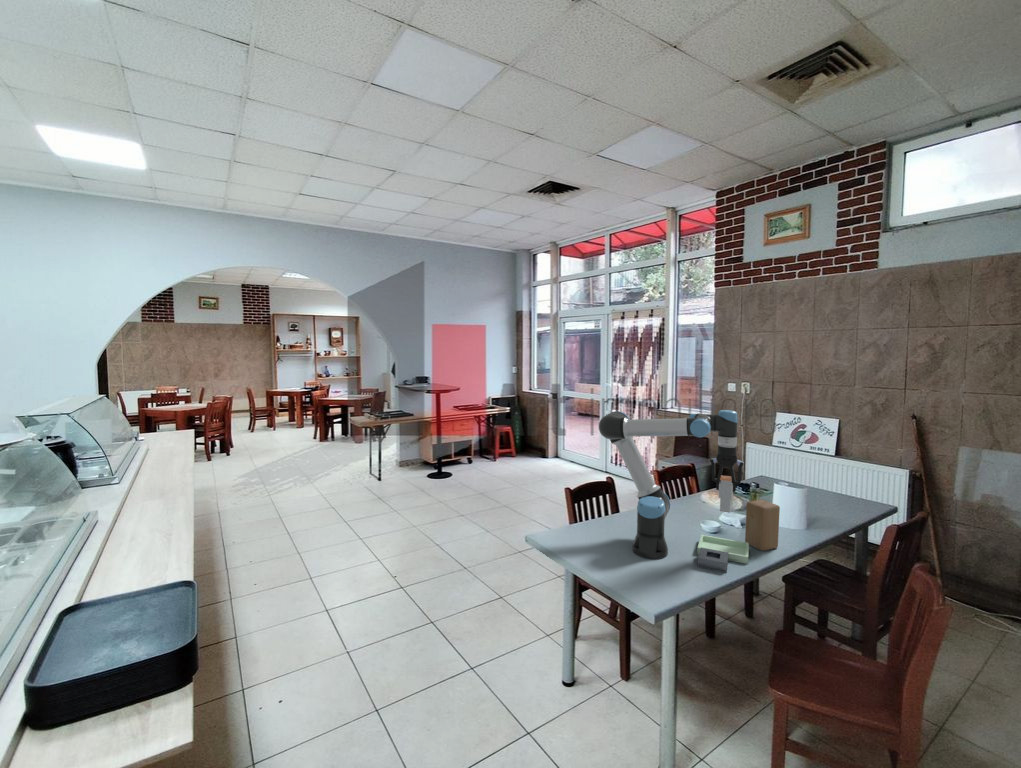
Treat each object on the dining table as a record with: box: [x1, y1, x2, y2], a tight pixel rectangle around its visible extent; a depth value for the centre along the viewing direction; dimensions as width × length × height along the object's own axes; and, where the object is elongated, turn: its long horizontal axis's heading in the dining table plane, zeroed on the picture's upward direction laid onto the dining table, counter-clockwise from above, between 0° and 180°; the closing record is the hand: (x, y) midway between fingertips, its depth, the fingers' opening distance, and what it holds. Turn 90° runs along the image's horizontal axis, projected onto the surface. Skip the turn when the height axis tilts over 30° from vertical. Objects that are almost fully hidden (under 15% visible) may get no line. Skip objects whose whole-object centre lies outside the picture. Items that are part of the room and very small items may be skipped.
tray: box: [696, 534, 750, 565], centre depth 208 cm, size 20×16×3 cm
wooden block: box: [744, 499, 781, 552], centre depth 214 cm, size 10×10×20 cm
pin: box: [719, 474, 733, 513], centre depth 206 cm, size 5×5×15 cm
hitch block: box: [697, 547, 729, 573], centre depth 197 cm, size 11×11×4 cm
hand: (725, 498), depth 206 cm, fingers closed on pin, 4 cm apart
